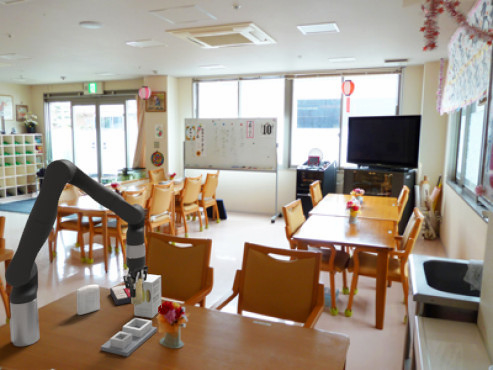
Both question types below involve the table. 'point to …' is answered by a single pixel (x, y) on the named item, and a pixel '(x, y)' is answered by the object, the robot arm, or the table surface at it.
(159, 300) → the supplement box
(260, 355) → the table surface
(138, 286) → the yellow bottle
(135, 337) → the grey holder tray
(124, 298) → the printed cardboard box
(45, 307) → the table surface
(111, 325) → the table surface
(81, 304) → the photo printer
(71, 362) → the table surface
